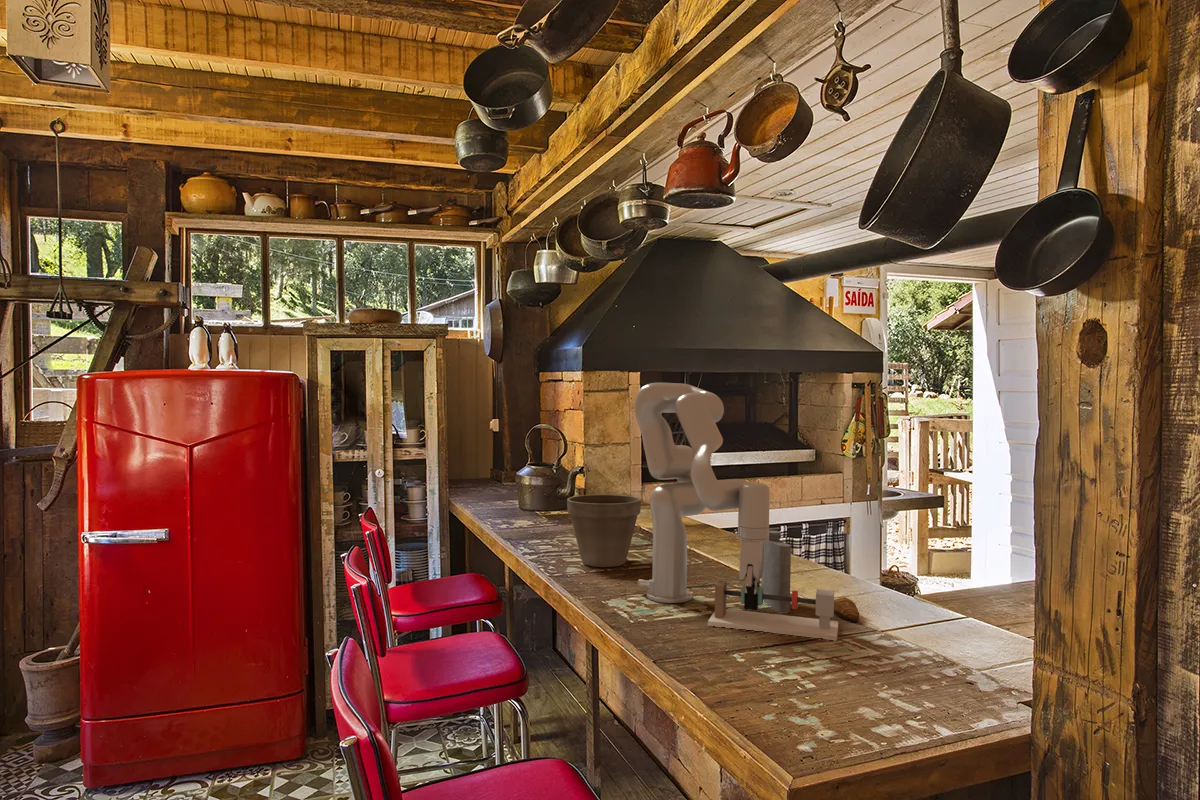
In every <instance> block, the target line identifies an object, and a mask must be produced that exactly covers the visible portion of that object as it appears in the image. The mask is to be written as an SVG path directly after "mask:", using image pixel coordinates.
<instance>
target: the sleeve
mask: <svg viewBox="0 0 1200 800" xmlns="http://www.w3.org/2000/svg"><path fill="white" fill-rule="evenodd" d="M740 592H741V597H740V604H742V605H743V604H744V593H745V584H744V585H742V586H741V590H740ZM757 594H758V605H759V607H760V606H763V604H764V602H763V599H762V594H764V587H761V586H760V587H757Z"/></svg>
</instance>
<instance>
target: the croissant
mask: <svg viewBox="0 0 1200 800" xmlns="http://www.w3.org/2000/svg"><path fill="white" fill-rule="evenodd" d="M834 614H835V615H836V616H837V617H840V618H842V619H844V620H845V621H849V622H852V623H858V622H859V620H860V612H859V609H858V607H857V605H856V603H855V602H854V601H853V600H852V599H850V598H847V596H843V597H840V598H837V599H836V598H835V599H834Z"/></svg>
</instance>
